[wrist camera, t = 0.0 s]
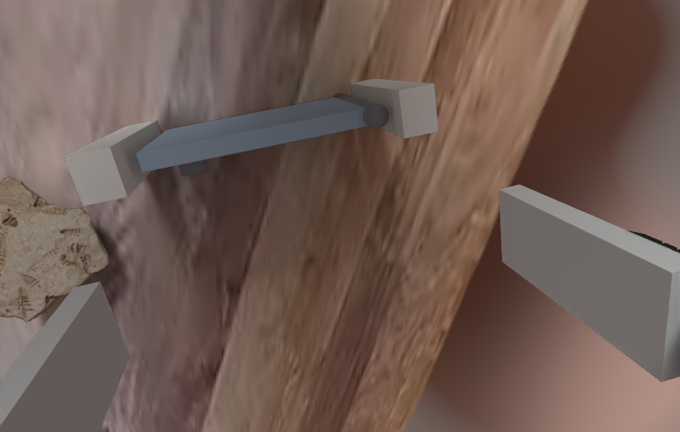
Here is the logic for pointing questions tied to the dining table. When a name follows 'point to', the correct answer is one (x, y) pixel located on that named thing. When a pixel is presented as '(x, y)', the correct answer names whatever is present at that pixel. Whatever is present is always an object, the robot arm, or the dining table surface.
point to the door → (258, 132)
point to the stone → (42, 251)
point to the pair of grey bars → (121, 146)
